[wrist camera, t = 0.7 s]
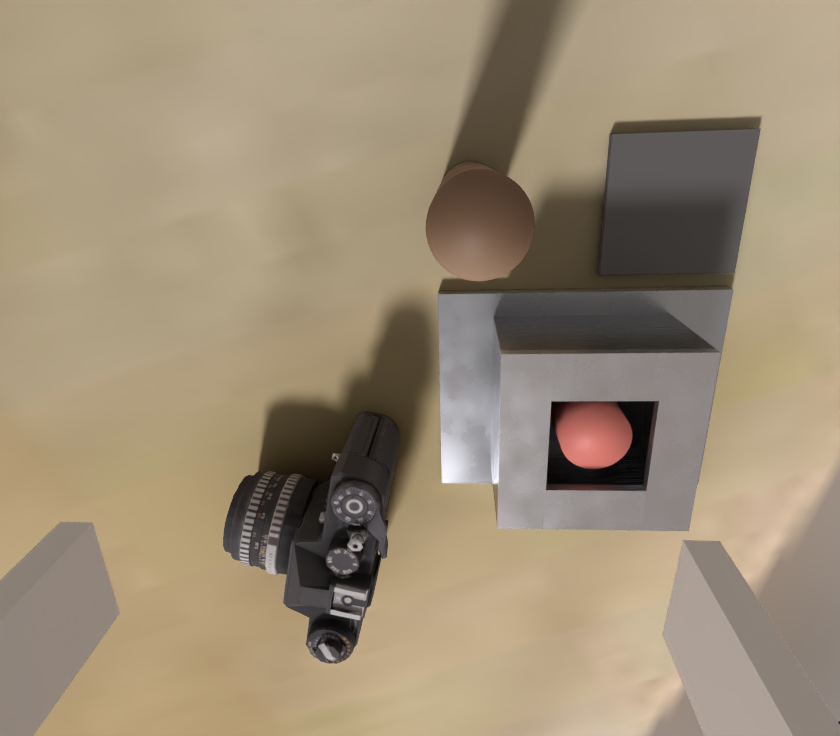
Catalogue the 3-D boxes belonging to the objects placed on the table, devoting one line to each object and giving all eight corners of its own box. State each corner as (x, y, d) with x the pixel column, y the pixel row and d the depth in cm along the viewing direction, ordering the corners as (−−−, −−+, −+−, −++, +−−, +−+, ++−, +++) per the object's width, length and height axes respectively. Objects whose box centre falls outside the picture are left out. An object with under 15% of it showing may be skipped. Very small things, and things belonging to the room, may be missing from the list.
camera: (260, 389, 39) (199, 464, 30) (411, 416, 39) (397, 499, 30) (250, 548, 44) (196, 653, 35) (383, 571, 44) (364, 682, 35)
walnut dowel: (439, 162, 33) (424, 171, 18) (500, 160, 32) (537, 168, 17) (440, 224, 34) (427, 282, 19) (499, 223, 34) (532, 280, 19)
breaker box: (438, 291, 35) (433, 327, 28) (727, 286, 34) (799, 323, 27) (442, 476, 41) (439, 547, 33) (693, 478, 39) (746, 552, 32)
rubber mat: (609, 134, 31) (612, 134, 31) (754, 129, 31) (760, 128, 30) (597, 273, 34) (599, 275, 34) (730, 270, 34) (734, 272, 33)
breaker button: (550, 378, 34) (562, 406, 30) (616, 378, 34) (636, 406, 30) (547, 435, 36) (557, 468, 32) (610, 435, 35) (628, 469, 32)
